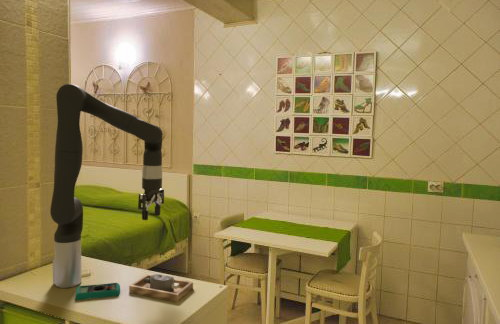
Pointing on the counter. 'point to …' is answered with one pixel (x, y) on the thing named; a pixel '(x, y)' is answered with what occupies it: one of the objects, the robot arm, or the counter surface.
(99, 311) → the counter surface
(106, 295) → the digital multimeter
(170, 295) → the oak tray
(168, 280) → the gray bottle
